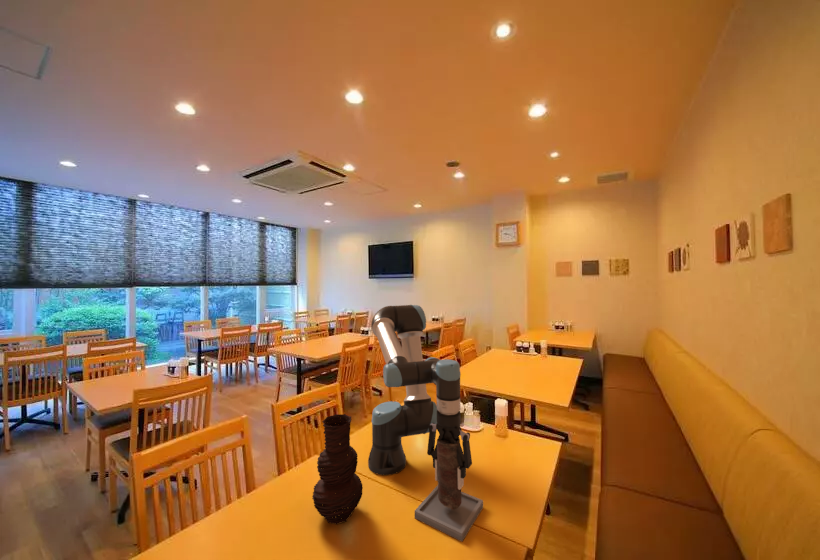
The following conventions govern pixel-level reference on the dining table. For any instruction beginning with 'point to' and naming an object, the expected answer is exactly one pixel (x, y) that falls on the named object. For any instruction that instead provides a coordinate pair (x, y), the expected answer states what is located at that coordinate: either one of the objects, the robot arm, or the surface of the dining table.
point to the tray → (449, 514)
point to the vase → (337, 472)
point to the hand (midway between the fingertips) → (449, 482)
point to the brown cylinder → (448, 474)
